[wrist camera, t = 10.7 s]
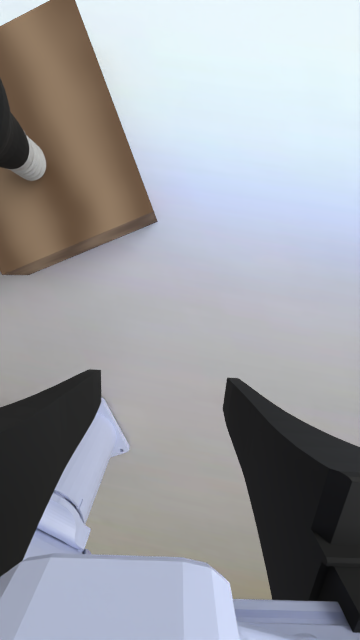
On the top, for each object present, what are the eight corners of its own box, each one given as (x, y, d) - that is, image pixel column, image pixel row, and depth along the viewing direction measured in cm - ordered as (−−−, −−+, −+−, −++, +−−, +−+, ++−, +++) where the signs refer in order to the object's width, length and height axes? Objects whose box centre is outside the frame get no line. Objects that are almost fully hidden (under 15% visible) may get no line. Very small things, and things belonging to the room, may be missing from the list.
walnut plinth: (28, 274, 19) (2, 274, 16) (-58, 117, 16) (-109, 82, 13) (157, 221, 18) (153, 211, 16) (91, 43, 15) (70, -11, 13)
